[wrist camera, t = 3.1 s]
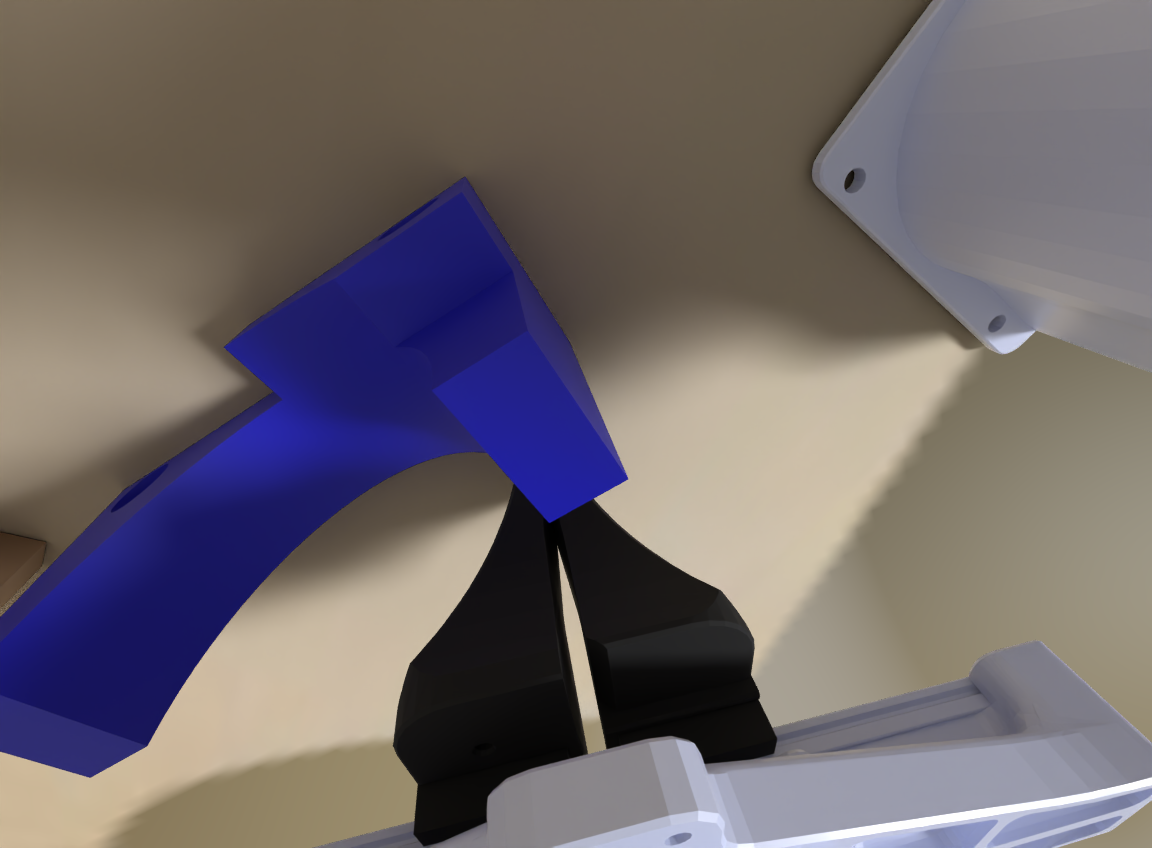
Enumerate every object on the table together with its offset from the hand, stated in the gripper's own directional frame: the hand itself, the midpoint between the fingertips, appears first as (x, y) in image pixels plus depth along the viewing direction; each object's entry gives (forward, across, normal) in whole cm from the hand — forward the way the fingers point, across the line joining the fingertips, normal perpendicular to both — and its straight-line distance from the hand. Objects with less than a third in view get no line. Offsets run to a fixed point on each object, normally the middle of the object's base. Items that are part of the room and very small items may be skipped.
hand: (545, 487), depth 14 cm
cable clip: (+1, +5, -4) cm, 6 cm away
